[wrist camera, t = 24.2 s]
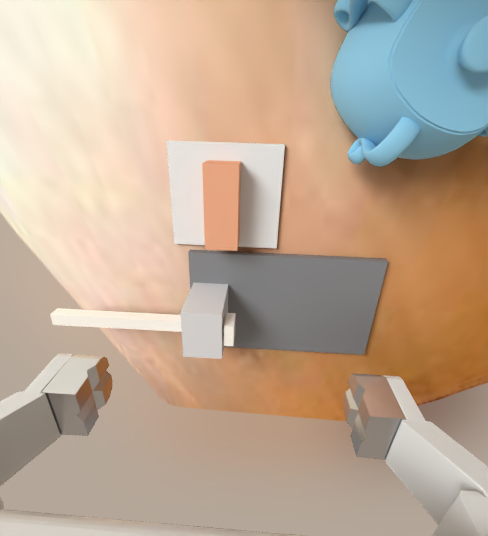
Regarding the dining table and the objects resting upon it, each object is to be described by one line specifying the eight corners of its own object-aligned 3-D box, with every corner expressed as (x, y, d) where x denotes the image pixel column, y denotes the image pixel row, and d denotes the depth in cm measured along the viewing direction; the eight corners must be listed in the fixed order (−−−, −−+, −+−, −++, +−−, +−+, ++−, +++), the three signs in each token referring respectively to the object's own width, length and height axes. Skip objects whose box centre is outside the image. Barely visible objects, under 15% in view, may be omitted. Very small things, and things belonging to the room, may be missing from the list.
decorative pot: (324, 165, 36) (358, 184, 24) (323, -5, 29) (369, -103, 17) (467, 147, 34) (583, 158, 22) (500, -37, 27) (695, -171, 15)
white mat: (167, 140, 35) (166, 140, 35) (284, 144, 35) (284, 144, 34) (175, 242, 41) (174, 243, 40) (276, 246, 40) (276, 248, 40)
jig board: (190, 249, 41) (173, 278, 33) (385, 258, 40) (416, 289, 32) (194, 341, 48) (181, 382, 40) (362, 350, 47) (382, 395, 39)
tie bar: (56, 303, 40) (41, 316, 37) (235, 313, 39) (233, 326, 36) (61, 322, 41) (47, 335, 38) (235, 331, 40) (233, 346, 37)
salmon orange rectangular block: (208, 160, 35) (202, 163, 32) (241, 161, 35) (239, 164, 32) (209, 238, 40) (204, 249, 36) (239, 239, 40) (237, 250, 36)
